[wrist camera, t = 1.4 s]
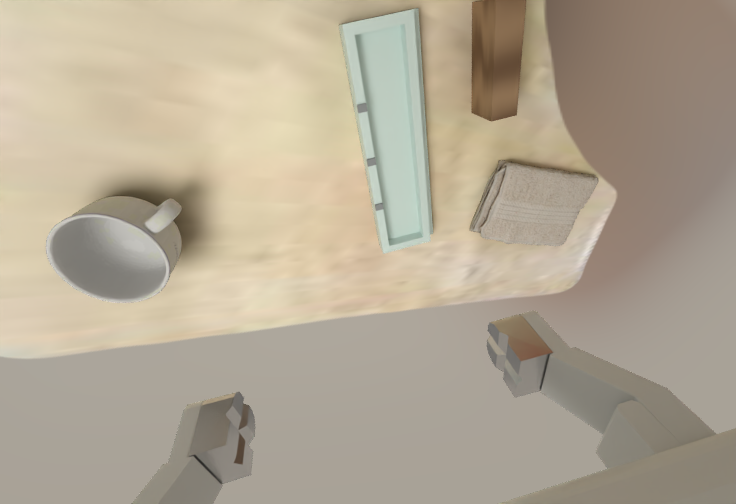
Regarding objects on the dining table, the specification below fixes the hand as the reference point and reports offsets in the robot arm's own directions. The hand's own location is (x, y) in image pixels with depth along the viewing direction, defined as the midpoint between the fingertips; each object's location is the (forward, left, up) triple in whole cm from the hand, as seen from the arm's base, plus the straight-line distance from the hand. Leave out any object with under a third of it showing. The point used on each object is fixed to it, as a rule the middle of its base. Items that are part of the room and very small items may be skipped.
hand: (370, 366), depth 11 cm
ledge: (+5, +9, -33) cm, 35 cm away
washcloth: (+18, +29, -34) cm, 48 cm away
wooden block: (-3, +21, -33) cm, 39 cm away
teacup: (+6, -22, -33) cm, 40 cm away
